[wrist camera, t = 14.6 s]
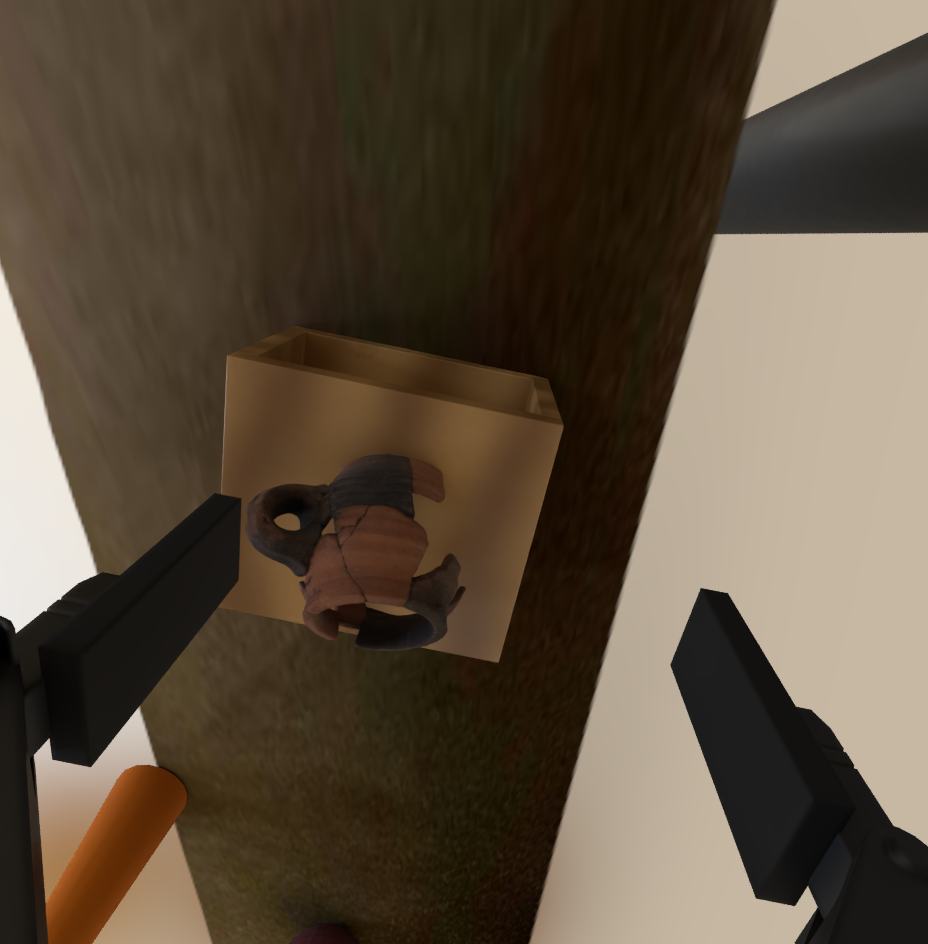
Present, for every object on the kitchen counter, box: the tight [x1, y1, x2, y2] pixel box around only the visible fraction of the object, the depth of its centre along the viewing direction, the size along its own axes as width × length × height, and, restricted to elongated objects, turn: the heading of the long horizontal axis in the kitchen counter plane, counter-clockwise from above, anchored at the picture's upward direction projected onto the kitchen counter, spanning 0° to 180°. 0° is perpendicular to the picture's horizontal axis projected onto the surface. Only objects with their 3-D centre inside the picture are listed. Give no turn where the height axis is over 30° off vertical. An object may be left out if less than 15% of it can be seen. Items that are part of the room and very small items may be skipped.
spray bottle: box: [46, 765, 187, 944], centre depth 46 cm, size 7×11×26 cm, turn 17°
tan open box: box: [218, 326, 564, 662], centre depth 39 cm, size 18×16×11 cm
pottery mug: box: [245, 454, 466, 651], centre depth 31 cm, size 12×10×8 cm
